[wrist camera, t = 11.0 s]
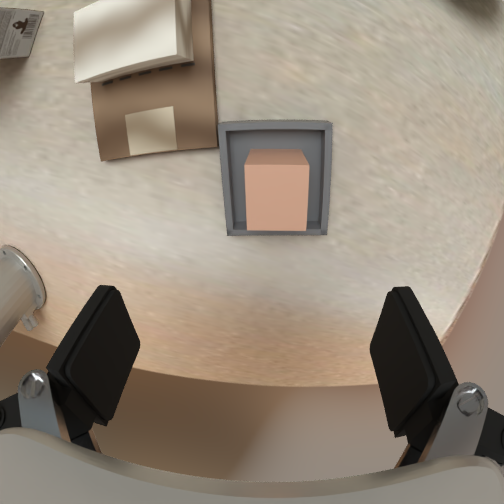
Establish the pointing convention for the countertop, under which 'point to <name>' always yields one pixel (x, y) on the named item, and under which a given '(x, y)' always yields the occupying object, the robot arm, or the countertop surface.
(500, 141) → the countertop surface
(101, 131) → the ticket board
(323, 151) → the tray
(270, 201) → the block
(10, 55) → the coffee box
